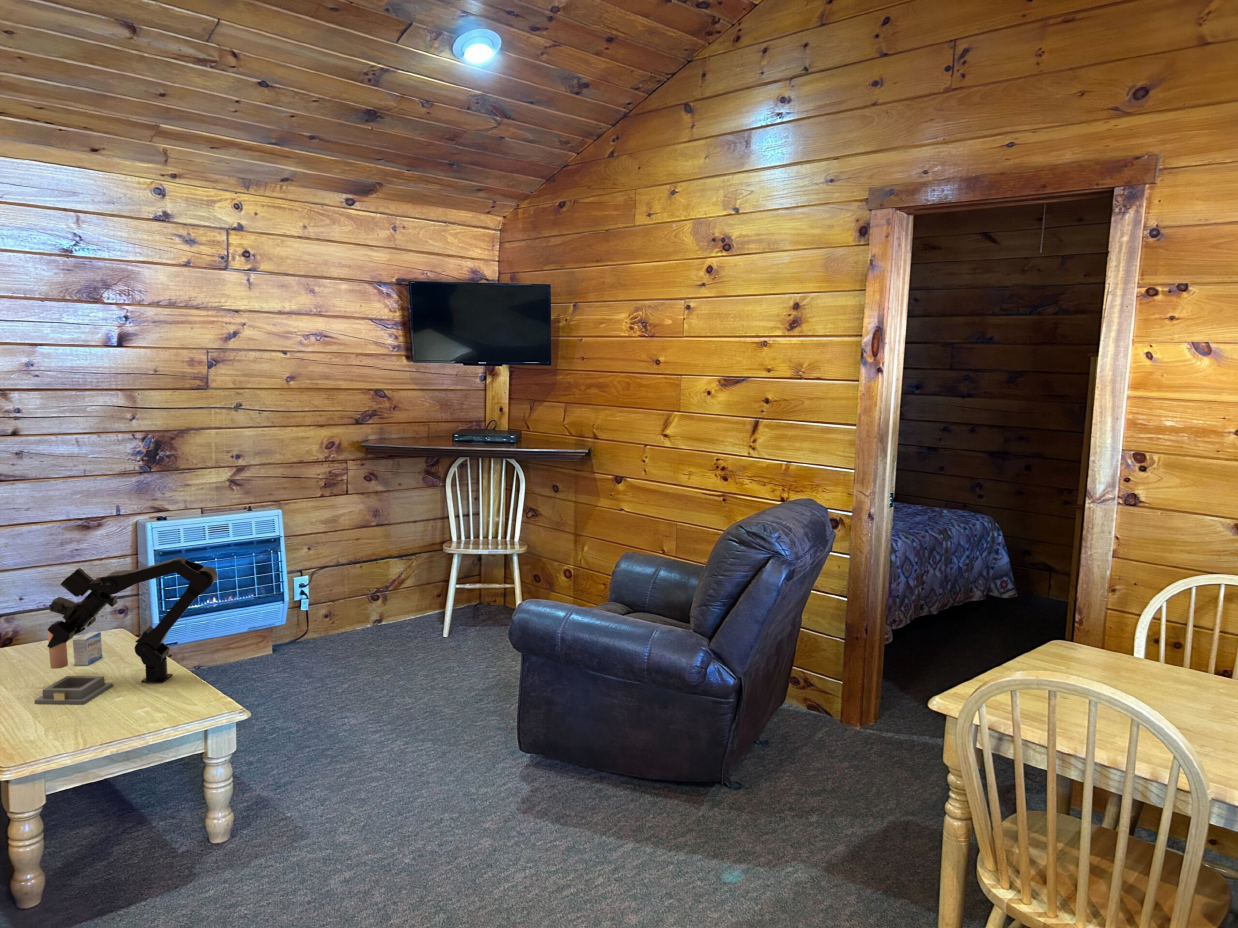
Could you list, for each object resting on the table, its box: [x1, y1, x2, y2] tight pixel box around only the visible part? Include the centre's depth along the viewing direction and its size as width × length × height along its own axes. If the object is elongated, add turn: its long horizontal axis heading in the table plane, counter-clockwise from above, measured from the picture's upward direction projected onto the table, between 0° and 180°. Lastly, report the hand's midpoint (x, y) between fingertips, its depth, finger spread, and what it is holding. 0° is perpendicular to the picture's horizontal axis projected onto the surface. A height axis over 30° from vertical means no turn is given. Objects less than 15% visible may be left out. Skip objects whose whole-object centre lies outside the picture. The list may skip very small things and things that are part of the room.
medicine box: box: [72, 631, 103, 666], centre depth 284 cm, size 8×4×9 cm, turn 179°
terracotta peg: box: [47, 626, 69, 670], centre depth 262 cm, size 4×4×12 cm
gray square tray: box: [33, 675, 114, 705], centre depth 256 cm, size 14×14×4 cm
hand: (52, 644), depth 262 cm, fingers closed on terracotta peg, 4 cm apart
